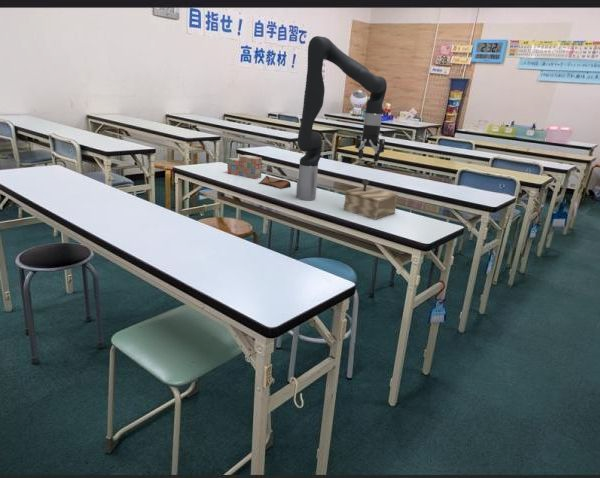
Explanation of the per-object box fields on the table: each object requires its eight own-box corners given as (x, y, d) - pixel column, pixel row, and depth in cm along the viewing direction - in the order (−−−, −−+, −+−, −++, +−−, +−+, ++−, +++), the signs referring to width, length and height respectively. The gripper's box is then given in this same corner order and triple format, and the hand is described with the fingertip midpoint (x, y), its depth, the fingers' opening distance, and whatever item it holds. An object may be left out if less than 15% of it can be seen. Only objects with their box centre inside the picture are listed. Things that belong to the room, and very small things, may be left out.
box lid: (344, 193, 205) (346, 178, 202) (365, 188, 216) (366, 175, 214) (378, 202, 193) (380, 187, 191) (398, 196, 204) (400, 182, 202)
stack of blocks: (227, 173, 267) (227, 153, 263) (233, 172, 272) (233, 152, 268) (255, 179, 257) (255, 158, 253) (261, 178, 262) (262, 157, 258)
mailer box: (343, 210, 208) (345, 193, 205) (363, 204, 219) (365, 189, 216) (375, 219, 196) (377, 202, 193) (394, 213, 207) (396, 197, 205)
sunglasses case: (256, 183, 248) (260, 172, 248) (263, 187, 254) (267, 177, 254) (281, 189, 238) (286, 178, 239) (288, 193, 244) (292, 182, 245)
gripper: (354, 122, 198) (350, 158, 204) (380, 126, 189) (376, 163, 195) (364, 121, 203) (360, 156, 209) (390, 125, 194) (385, 161, 200)
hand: (368, 160), depth 202 cm, fingers open, 8 cm apart
